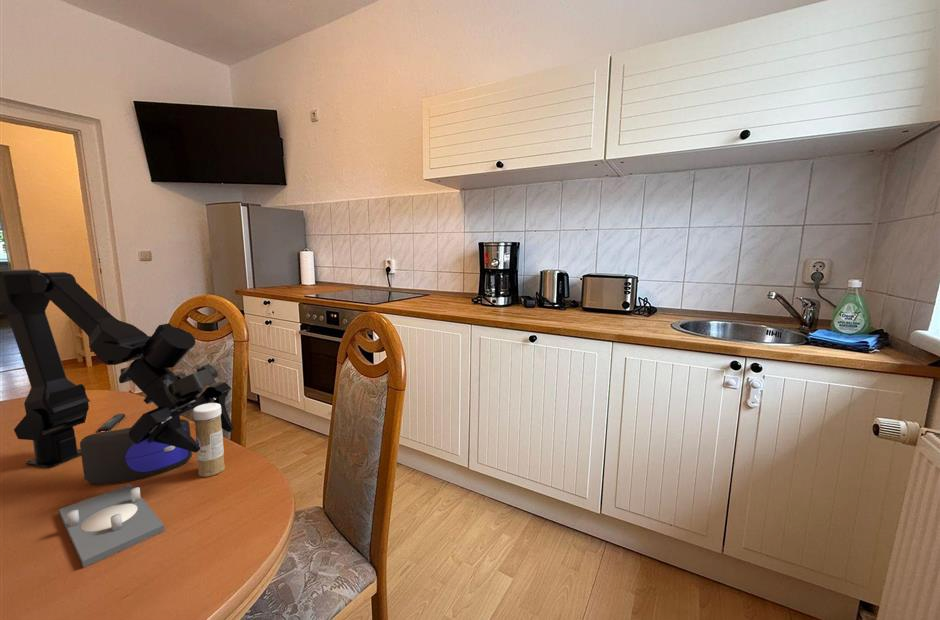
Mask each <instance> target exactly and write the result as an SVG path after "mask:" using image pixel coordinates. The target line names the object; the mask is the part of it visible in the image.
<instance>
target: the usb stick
mask: <svg viewBox="0 0 940 620" xmlns="http://www.w3.org/2000/svg"><path fill="white" fill-rule="evenodd" d="M125 416H126V414H125V413H117V414H114V415H113V416H112V417H111V418H109V419H108V420H107V421H106V422H105V423H104V424H102V425H101V426H100V427H98V429H97V433H99V432H100V433H102V432H101V431H109V430H110V431H112V430H113V429H114V428H115V427H116V426H117V425H118V424H120V423H121V422H120V421H121V420H122V419H123V418H124V417H125ZM125 418H126V417H125ZM125 418H124V419H125ZM124 419H123V420H124ZM123 420H122V421H123ZM117 423H118V424H117ZM116 424H117V425H116ZM115 425H116V426H115ZM114 426H115V427H114ZM113 427H114V428H113ZM112 428H113V429H112ZM111 429H112V430H111Z"/></svg>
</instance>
